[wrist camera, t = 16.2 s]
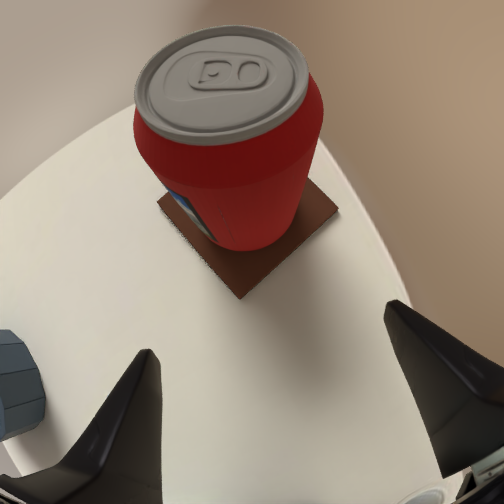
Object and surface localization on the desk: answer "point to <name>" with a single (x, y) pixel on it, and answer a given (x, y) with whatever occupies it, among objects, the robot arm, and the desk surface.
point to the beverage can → (230, 130)
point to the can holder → (18, 388)
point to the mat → (261, 260)
